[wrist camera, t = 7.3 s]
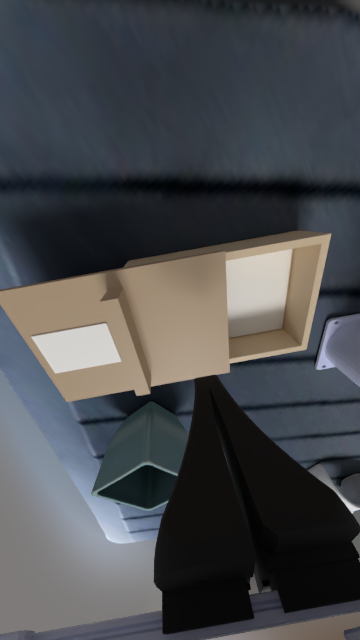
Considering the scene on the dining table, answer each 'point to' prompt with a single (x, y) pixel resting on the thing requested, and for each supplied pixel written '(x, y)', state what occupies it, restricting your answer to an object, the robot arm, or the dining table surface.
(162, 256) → the box
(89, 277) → the mailer lid
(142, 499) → the flower pot
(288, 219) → the dining table surface
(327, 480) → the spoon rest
